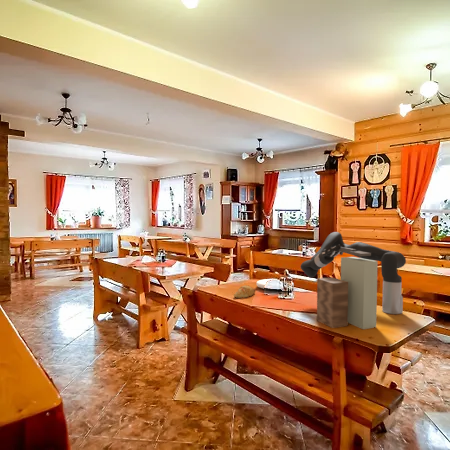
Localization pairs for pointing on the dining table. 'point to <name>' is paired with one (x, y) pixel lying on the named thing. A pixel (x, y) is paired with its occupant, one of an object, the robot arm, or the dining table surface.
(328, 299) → the wood grain box
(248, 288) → the tan rounded lump
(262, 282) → the plate
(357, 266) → the tall pale grey box
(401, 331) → the dining table surface
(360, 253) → the spatula
